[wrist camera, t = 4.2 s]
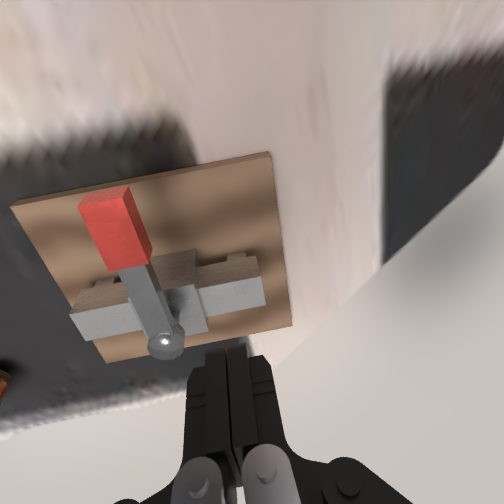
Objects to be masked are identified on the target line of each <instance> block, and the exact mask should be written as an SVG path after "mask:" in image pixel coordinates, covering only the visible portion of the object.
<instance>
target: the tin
mask: <svg viewBox="0 0 504 504" xmlns="http://www.w3.org/2000/svg"><path fill="white" fill-rule="evenodd" d="M10 383H11V376H10V374H8V373H7V372H4V371H2V370H0V404H1V401H2V399H3V397H4V395H5V393H6V391H7V389H8V387H9V384H10Z"/></svg>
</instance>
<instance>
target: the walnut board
mask: <svg viewBox="0 0 504 504" xmlns="http://www.w3.org/2000/svg"><path fill="white" fill-rule="evenodd" d="M124 186H129V188H130V191H131V193H132V196H133V199H134V201H135V204H136V206H137V209H138V212H139V214H140V217H141V219H142V222H143V225H144V227H145V230H146V232H147V235H148V238H149V240H150V243H151V245H152V248H153V250H152V254H151V257H154V256H159V255H164V254H169V253H174V252H179V251H184V250H189V249H194V248H196V252H197V255H198V258H199V262H200V265H201V266H205V265H210V264H215V263H220V262H225V261H227V254H232V253H237V252H242V251H245V253H246V257H250V256H255V255H256V258H257V262H258V266H259V271H260V275H261V280H262V286H263V291H264V297H265V302H266V305H263V306H258V307H253V308H248V309H243V310H238V311H233V312H228V313H223V314H218V315H213V316H209V331H208V332H203V333H198V334H193V335H188V336H185V343H184V348H185V347H190V346H195V345H200V344H205V343H210V342H215V341H220V340H225V339H230V338H235V337H240V336H245V335H250V334H255V333H260V332H265V331H270V330H275V329H280V328H285V327H290V326H292V318H291V311H290V303H289V295H288V287H287V279H286V272H285V264H284V256H283V248H282V240H281V233H280V225H279V217H278V209H277V201H276V194H275V186H274V178H273V170H272V162H271V156H270V154H269V152H264V153H259V154H254V155H248V156H243V157H238V158H233V159H228V160H223V161H218V162H212V163H207V164H202V165H197V166H192V167H187V168H182V169H176V170H171V171H166V172H161V173H156V174H151V175H146V176H140V177H135V178H130V179H125V180H120V181H115V182H110V183H104V184H99V185H94V186H89V187H84V188H79V189H74V190H68V191H63V192H58V193H53V194H48V195H43V196H37V197H32V198H27V199H22V200H18V201H17V202H15V203H14V204H13V205H12V206H11V207H10V208H11V209H12V211H13V212H14V214H15V216H16V217H17V219H18V221H19V222H20V224H21V225H22V227H23V229H24V230H25V232H26V234H27V235H28V237H29V238H30V240H31V242H32V243H33V245H34V247H35V248H36V250H37V251H38V253H39V255H40V256H41V258H42V260H43V261H44V263H45V264H46V266H47V268H48V269H49V271H50V273H51V274H52V276H53V277H54V279H55V281H56V282H57V284H58V285H59V287H60V289H61V290H62V292H63V294H64V295H65V297H66V298H67V300H68V302H69V303H70V305H71V307H72V308H73V306H74V304H75V302H76V300H77V298H78V296H79V294H80V292H81V290H84V289H89V288H94V286H95V284H96V281H97V280H100V279H106V278H111V277H116V278H117V280H118V282H122V281H121V278H120V276H119V274H118V272H117V270H115V271H110V272H109V271H108V269H107V267H106V265H105V263H104V261H103V259H102V257H101V255H100V253H99V251H98V249H97V247H96V245H95V243H94V241H93V239H92V237H91V235H90V233H89V231H88V229H87V227H86V225H85V223H84V221H83V218H82V216H81V214H80V212H79V210H78V208H77V205H78V204H79V203H80V202H81V200H82V199H83V198H84V197H85V195H86V194H88V193H94V192H99V191H104V190H109V189H114V188H119V187H124ZM92 341H93V342H94V344H95V345H96V347H97V349H98V350H99V352H100V354H101V355H102V357H103V358H104V360H105V362H106V363H110V362H115V361H120V360H125V359H130V358H135V357H140V356H145V355H150V353H149V352H148V349H147V345H148V340H147V338H146V336H145V334H144V332H143V330H138V331H133V332H128V333H123V334H118V335H113V336H108V337H103V338H98V339H93V340H92Z"/></svg>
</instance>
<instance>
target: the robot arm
mask: <svg viewBox="0 0 504 504" xmlns="http://www.w3.org/2000/svg"><path fill="white" fill-rule="evenodd" d="M186 397H187V399H186V412H185V427H184V445H183V459H182V463H181V466H180V469H179V471H178V473H177V475H176V476H175V478H174V479H173V480H172V482H171V483H170V484H169V485H167V486H166V487H165V488H164V489H162V490H161V491H159V492H158V493H156V494H154V495H153V496H151V497H149V498H147V499H146V500H144V501H143V502H141V503H139V502H137V501H136V500H133V499H123V500H120V501H118V502H116V503H114V504H237V492H236V487H242V486H243V487H244V494H245V501H246V504H412V503H411V502H410V501H409V500H407V499H406V498H405V497H404V496H402V495H401V494H400V493H399V492H397V491H396V490H395V489H394V488H392V487H391V486H390V485H389V484H387V483H386V482H385V481H384V480H382V479H381V478H379V477H378V476H377V475H376V474H375V473H373V472H372V471H371V470H369V469H368V468H367V467H366V466H365V465H363V464H362V463H360V462H359V461H357V460H355V459H353V458H348V457H340V458H336V459H334V460H332V461H331V462H329V463H328V464H327V463H321V462H316V461H311V460H306V459H304V458H302V457H300V456H298V455H297V454H296V453H294V452H293V451H292V449H291V448H290V447H289V445H288V444H287V441H286V439H285V436H284V431H283V425H282V420H281V415H280V410H279V405H278V400H277V395H276V390H275V385H274V380H273V375H272V370H271V365H270V364H269V363H268V361H267V360H266V359H265V357H264V356H263V355H259V356H254V357H249V352H248V348H247V344H246V343H241V344H236V345H231V346H227V349H226V347H221V348H216V349H211V350H206V352H205V366H203V367H198V368H193V371H192V373H191V375H190V377H189V379H188V381H187V392H186Z"/></svg>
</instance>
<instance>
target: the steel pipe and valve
mask: <svg viewBox="0 0 504 504" xmlns="http://www.w3.org/2000/svg"><path fill="white" fill-rule="evenodd" d="M150 261H151V264H152V266H153V269H154V271H155V274H156V276H157V279H158V281H159V284H160V286H161V289H162V291H163V294H164V296H165V299H166V301H167V304H168V306H169V309H170V311H173V312H176V313H177V314H178V315H179V317H180V321H179V324H180V325H181V326H182V327H183V328H184V330H185V336H188V335H193V334H198V333H203V332H208V331H209V316H213V315H218V314H223V313H228V312H233V311H238V310H243V309H248V308H253V307H258V306H263V305H266V302H265V297H264V291H263V286H262V280H261V275H260V271H259V266H258V262H257V258H256V255H255V256H250V257H246V253H245V251H242V252H237V253H232V254H227V261H225V262H220V263H215V264H210V265H205V266H201V265H200V262H199V258H198V255H197V252H196V248H194V249H189V250H184V251H179V252H174V253H169V254H164V255H159V256H154V257H150ZM69 315H70V317H71V318H72V320H73V321H74V323H75V325H76V326H77V328H78V329H79V331H80V333H81V334H82V336H83V337H84V339H85V340H86V341H88V340H93V339H98V338H103V337H108V336H113V335H118V334H123V333H128V332H133V331H138V330H143V332H144V334H145V336H146V338H147V340H149V337H148V335H147V333H146V331H145V329H144V327H143V325H142V323H141V320H140V318H139V316H138V314H137V312H136V310H135V308H134V306H133V304H132V302H131V299H130V297H129V295H128V293H127V291H126V289H125V287H124V285H123V283H122V282H118V280H117V278H116V277H111V278H106V279H100V280H97V281H96V284H95V286H94V288H89V289H84V290H81V292H80V294H79V296H78V298H77V300H76V302H75V304H74V306H73V308H72V310H71V312H70V314H69Z"/></svg>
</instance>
